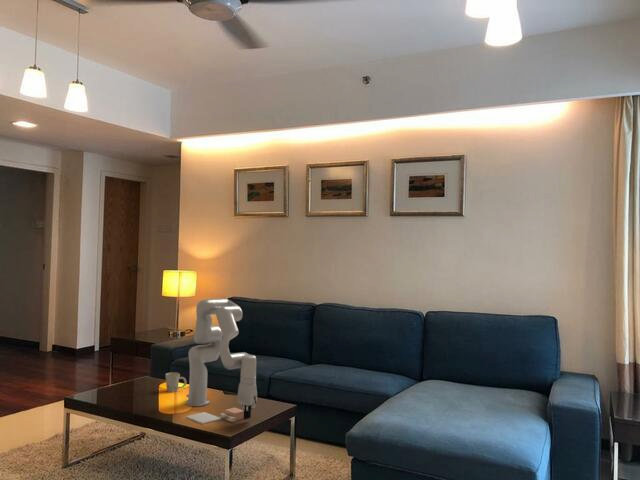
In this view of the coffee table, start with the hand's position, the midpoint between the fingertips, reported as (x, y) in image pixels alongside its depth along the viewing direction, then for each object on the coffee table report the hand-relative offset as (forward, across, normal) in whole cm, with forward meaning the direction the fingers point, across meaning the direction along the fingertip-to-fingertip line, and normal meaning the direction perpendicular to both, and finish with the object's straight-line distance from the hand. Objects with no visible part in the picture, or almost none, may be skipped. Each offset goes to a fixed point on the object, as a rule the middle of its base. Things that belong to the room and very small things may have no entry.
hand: (247, 418), depth 253 cm
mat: (+2, -19, -12) cm, 23 cm away
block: (+2, -10, 0) cm, 10 cm away
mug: (+2, -74, +7) cm, 75 cm away
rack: (+2, -9, 0) cm, 9 cm away
